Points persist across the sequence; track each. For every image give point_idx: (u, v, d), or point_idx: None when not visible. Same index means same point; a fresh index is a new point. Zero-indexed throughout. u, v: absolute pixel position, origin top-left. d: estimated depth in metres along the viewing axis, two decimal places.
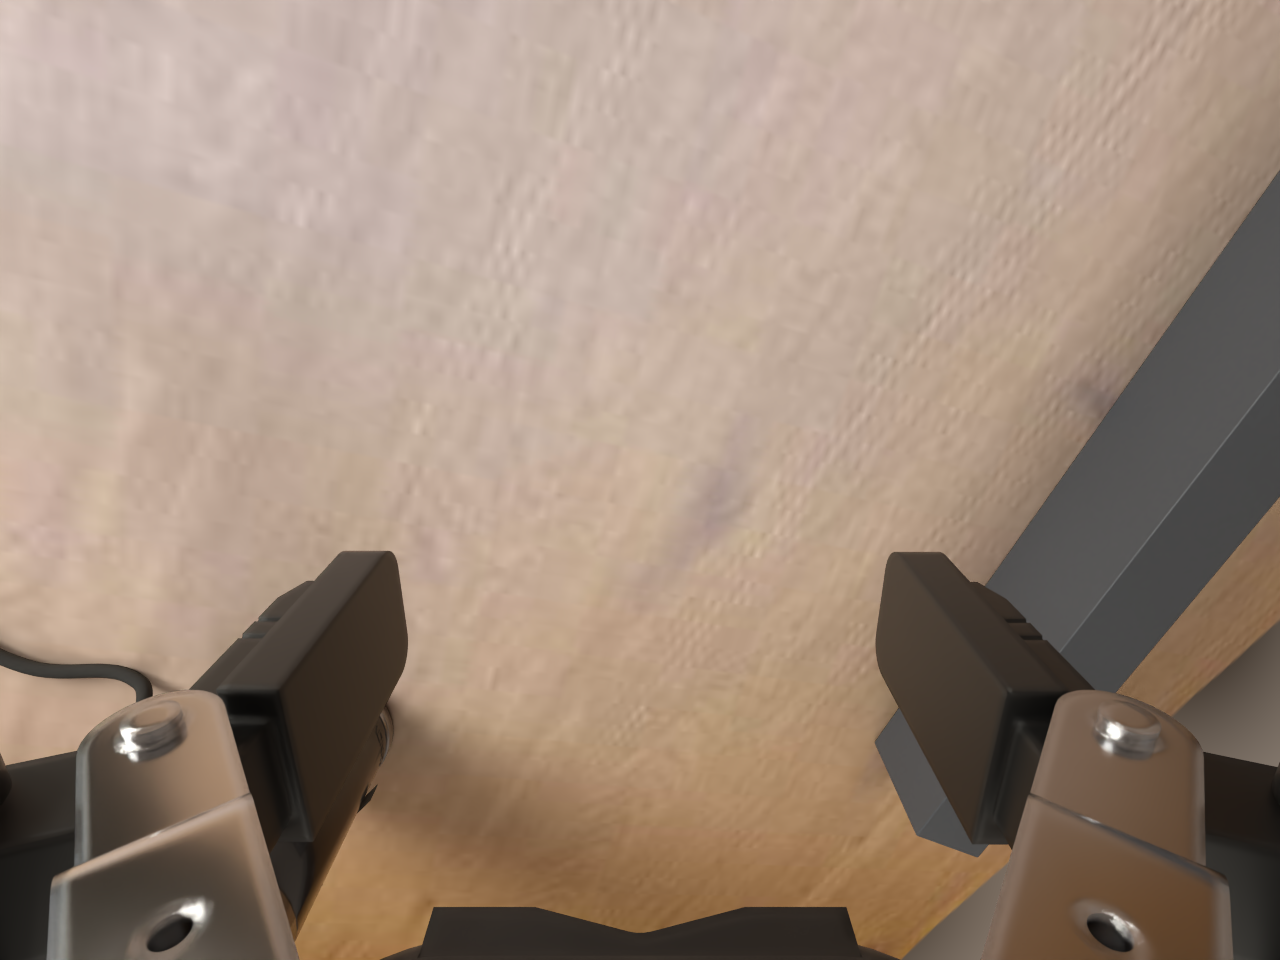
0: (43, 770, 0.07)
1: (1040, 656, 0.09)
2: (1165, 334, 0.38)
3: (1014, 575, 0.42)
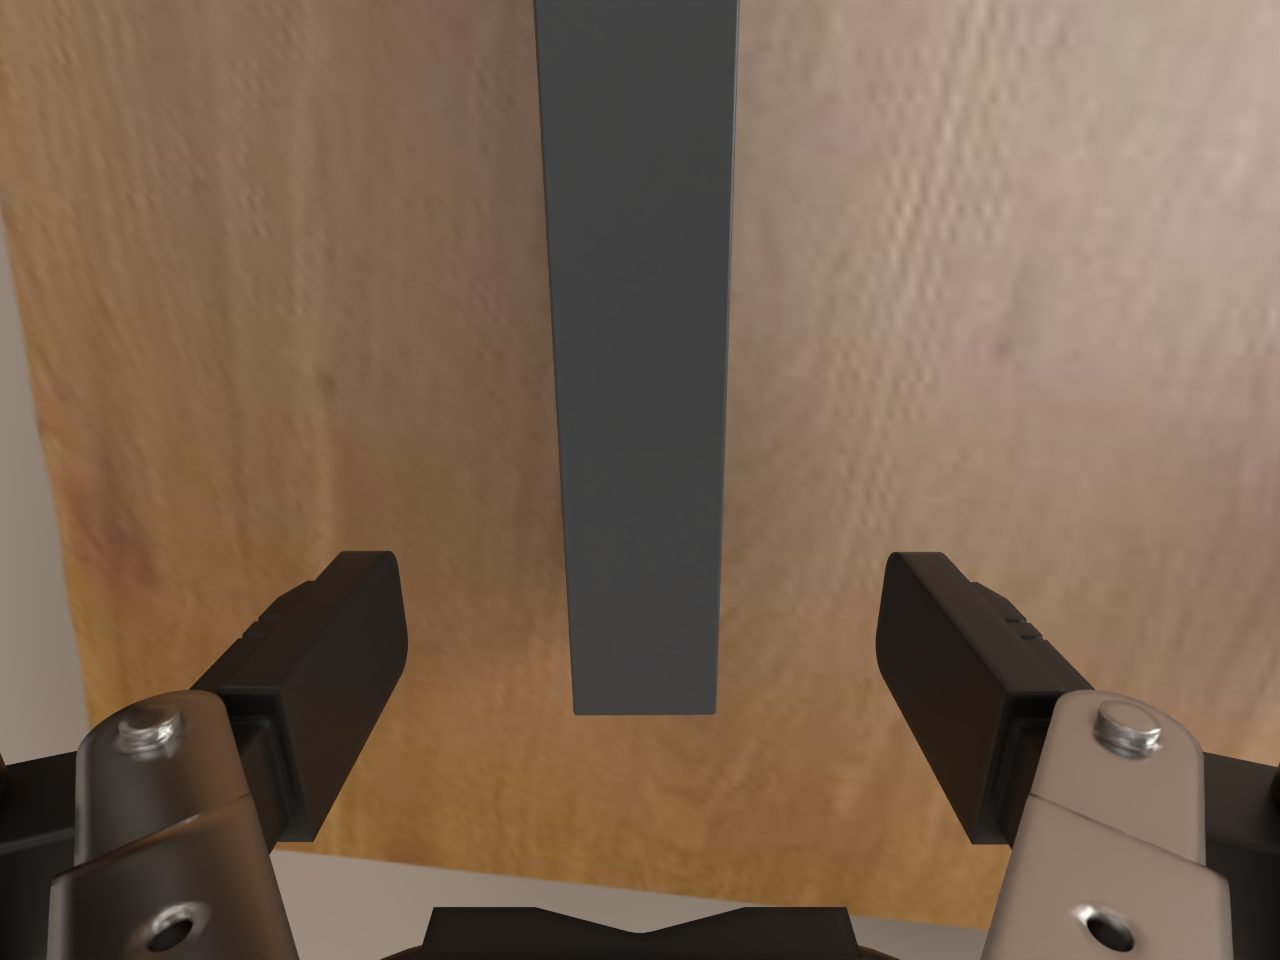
0: (43, 770, 0.07)
1: (1040, 656, 0.09)
2: None
3: None
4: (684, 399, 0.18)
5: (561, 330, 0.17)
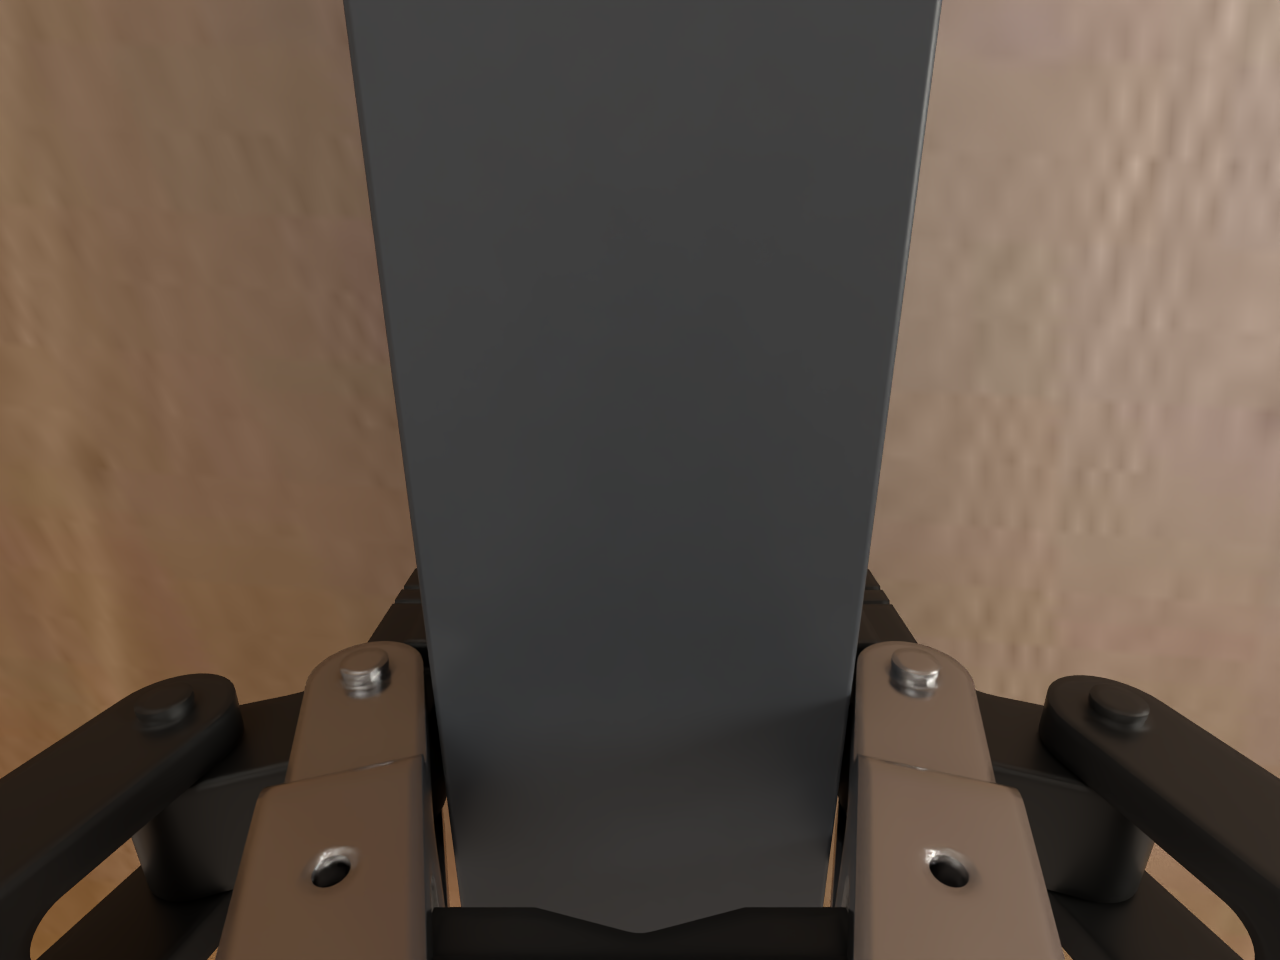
0: (262, 711, 0.08)
1: (880, 618, 0.09)
2: None
3: None
4: (753, 613, 0.07)
5: (424, 442, 0.06)
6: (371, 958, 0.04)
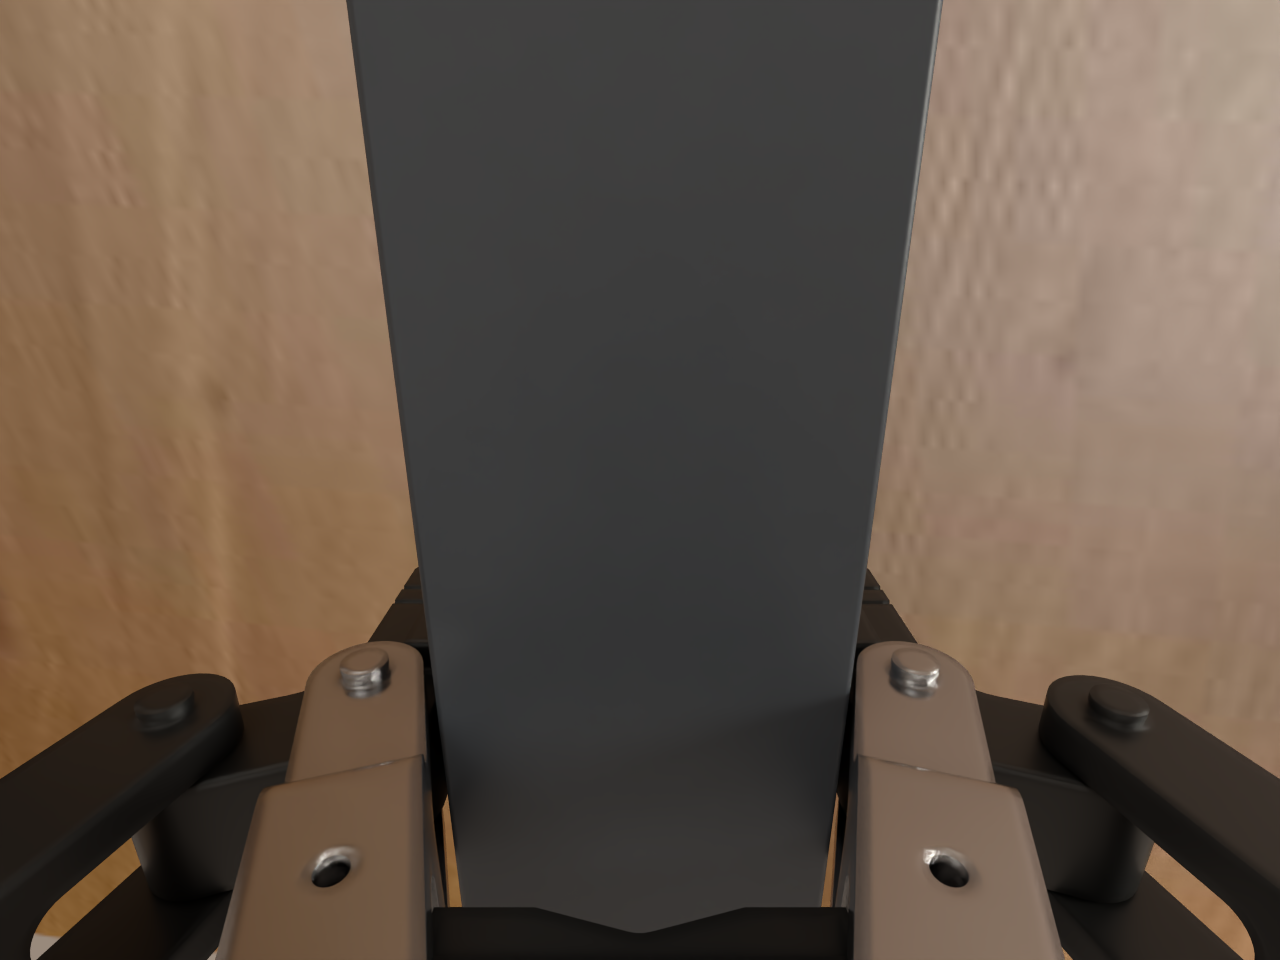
0: (262, 711, 0.08)
1: (880, 618, 0.09)
2: None
3: None
4: (753, 614, 0.07)
5: (426, 442, 0.06)
6: (371, 958, 0.04)
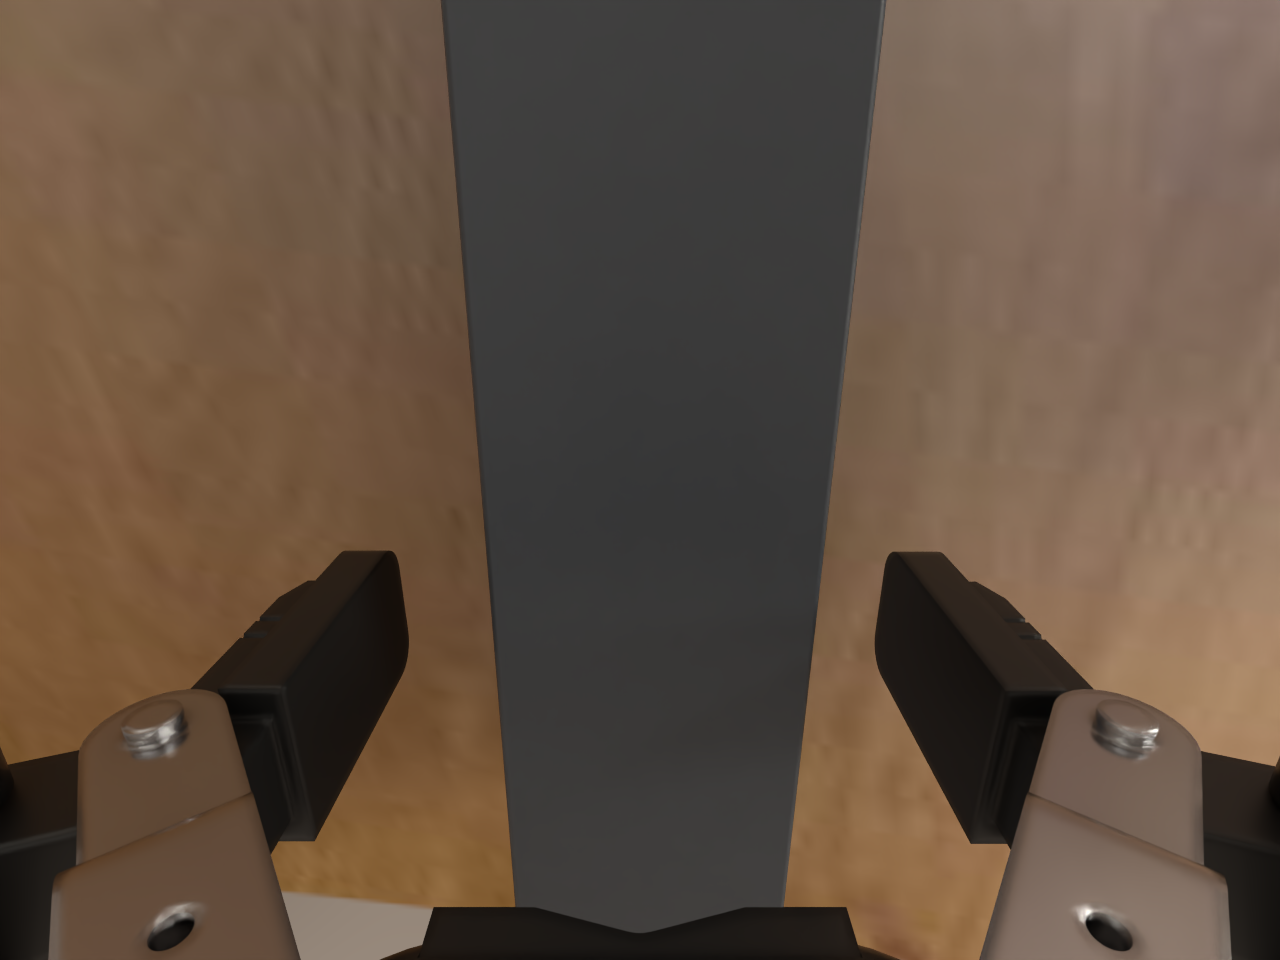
0: (44, 770, 0.07)
1: (1039, 656, 0.09)
2: None
3: None
4: (743, 510, 0.09)
5: (490, 368, 0.08)
6: None
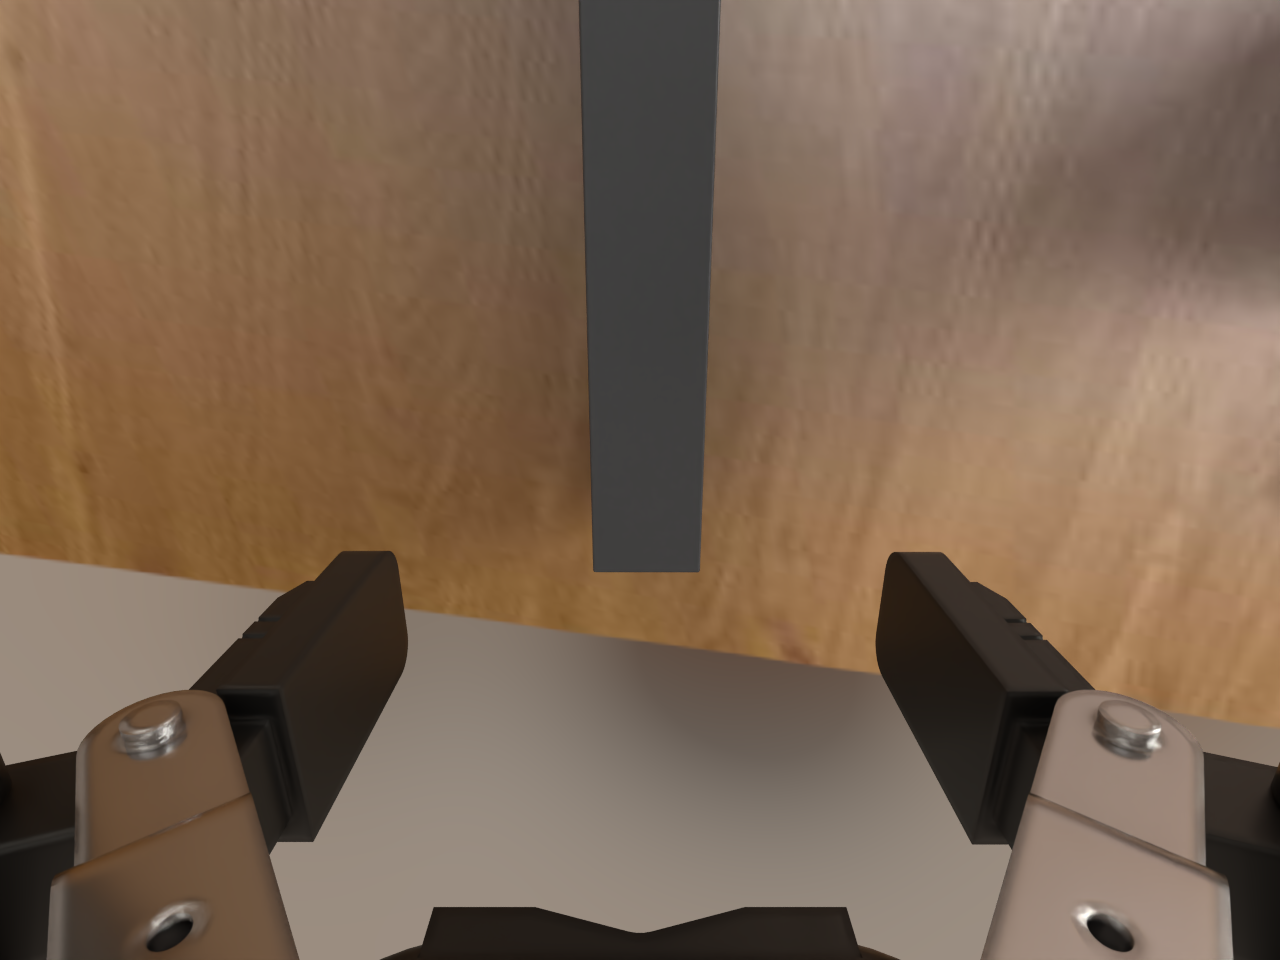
0: (42, 770, 0.07)
1: (1040, 656, 0.09)
2: None
3: None
4: (678, 327, 0.25)
5: (592, 276, 0.24)
6: None
